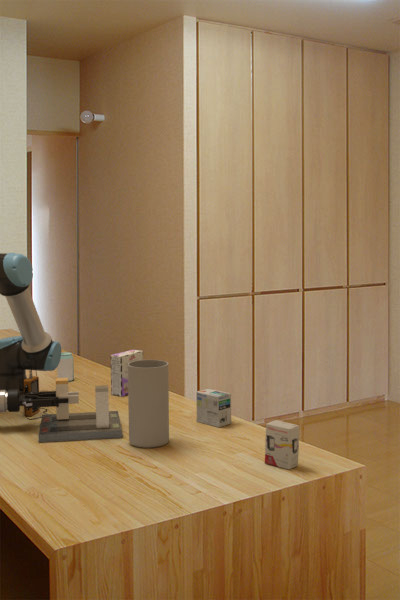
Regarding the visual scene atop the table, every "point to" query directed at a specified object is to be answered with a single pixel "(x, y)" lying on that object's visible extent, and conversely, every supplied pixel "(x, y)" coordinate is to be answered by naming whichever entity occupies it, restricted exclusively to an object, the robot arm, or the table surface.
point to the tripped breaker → (62, 391)
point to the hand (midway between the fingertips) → (78, 397)
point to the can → (66, 366)
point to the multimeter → (31, 386)
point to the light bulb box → (213, 407)
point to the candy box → (122, 370)
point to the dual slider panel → (83, 423)
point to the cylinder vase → (148, 403)
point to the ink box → (282, 444)
